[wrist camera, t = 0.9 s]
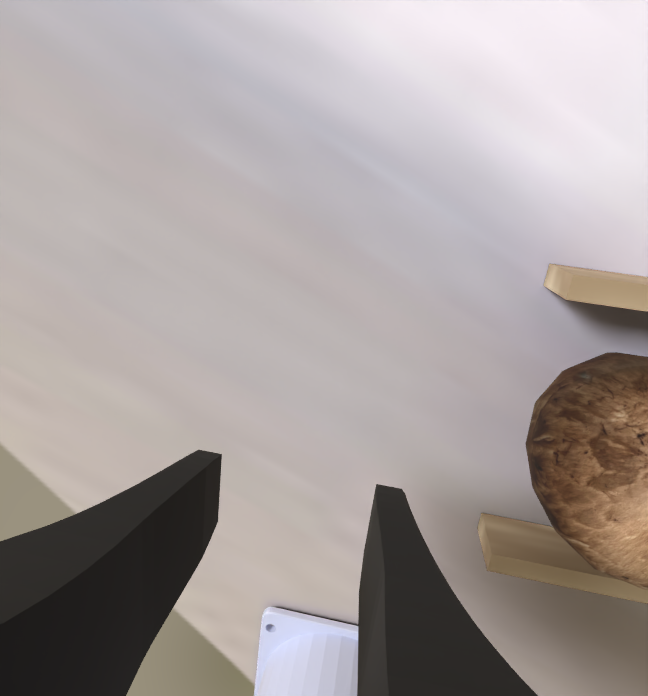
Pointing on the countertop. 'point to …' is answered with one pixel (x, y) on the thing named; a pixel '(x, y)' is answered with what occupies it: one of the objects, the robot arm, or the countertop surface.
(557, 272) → the guide fence
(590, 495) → the mushroom
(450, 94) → the countertop surface
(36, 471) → the countertop surface
